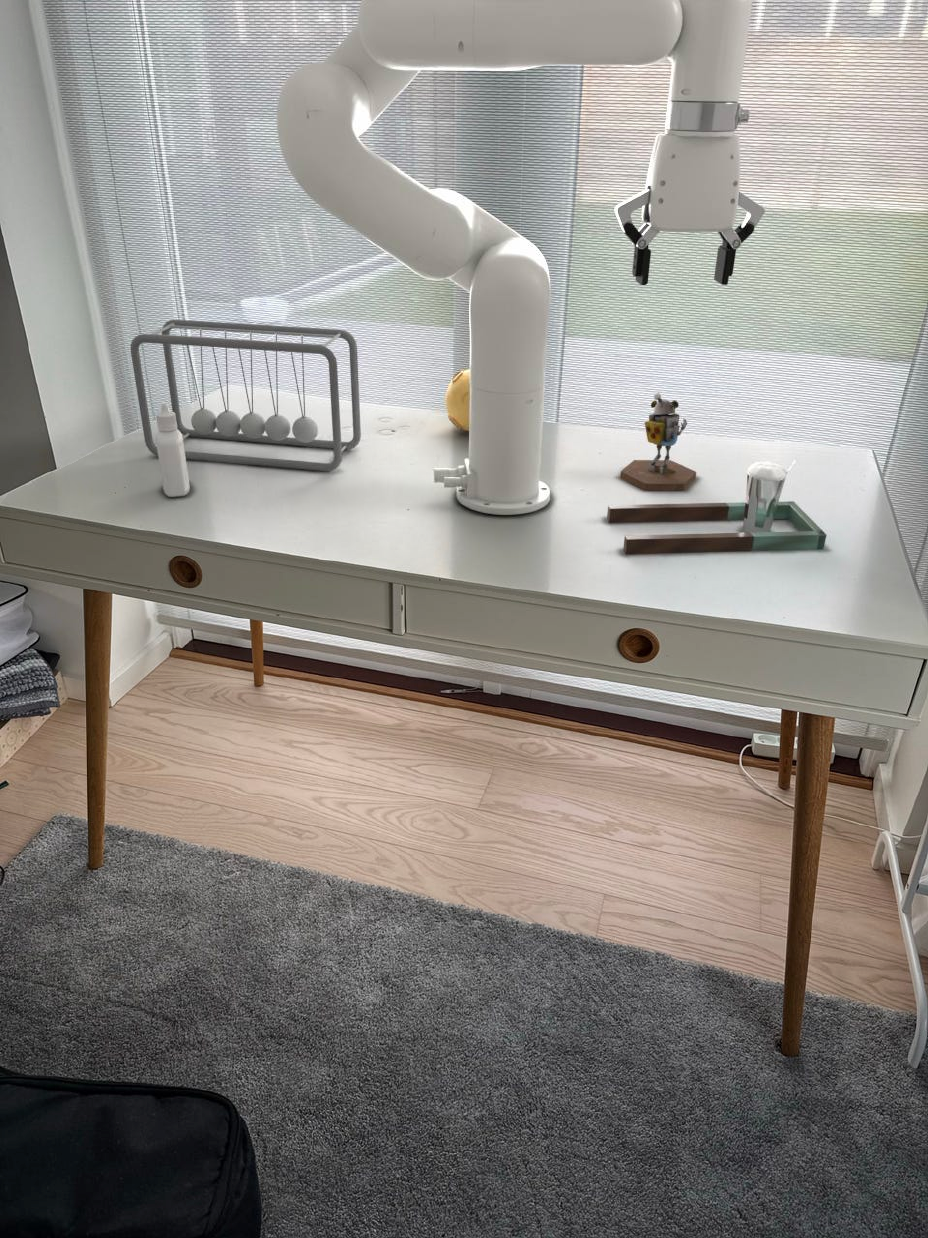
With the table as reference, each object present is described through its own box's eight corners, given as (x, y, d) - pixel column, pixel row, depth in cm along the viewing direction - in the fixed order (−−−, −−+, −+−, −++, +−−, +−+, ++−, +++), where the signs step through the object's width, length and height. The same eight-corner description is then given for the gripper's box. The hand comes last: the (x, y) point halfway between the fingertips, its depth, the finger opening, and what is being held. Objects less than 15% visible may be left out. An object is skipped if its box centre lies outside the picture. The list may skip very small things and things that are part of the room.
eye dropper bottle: (201, 484, 131) (189, 398, 125) (182, 499, 126) (169, 411, 120) (172, 481, 132) (159, 396, 126) (152, 496, 127) (137, 408, 121)
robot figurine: (710, 485, 133) (723, 400, 127) (659, 497, 129) (670, 411, 123) (657, 460, 141) (667, 380, 135) (608, 471, 137) (616, 389, 131)
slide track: (625, 554, 113) (627, 539, 112) (606, 519, 122) (608, 504, 121) (823, 549, 115) (827, 534, 114) (790, 515, 124) (793, 501, 123)
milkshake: (782, 542, 117) (798, 465, 112) (738, 538, 118) (751, 461, 113) (780, 527, 121) (794, 452, 116) (736, 523, 121) (749, 448, 117)
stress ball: (439, 422, 155) (439, 361, 150) (497, 419, 157) (499, 358, 152) (453, 442, 147) (453, 378, 142) (514, 438, 149) (516, 375, 144)
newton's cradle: (362, 449, 144) (357, 329, 135) (341, 473, 135) (334, 347, 126) (177, 434, 149) (161, 317, 140) (145, 456, 140) (126, 333, 131)
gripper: (764, 120, 108) (741, 277, 117) (615, 118, 107) (602, 277, 115) (789, 122, 102) (762, 288, 110) (631, 121, 100) (616, 289, 109)
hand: (681, 282), depth 113 cm, fingers open, 9 cm apart
